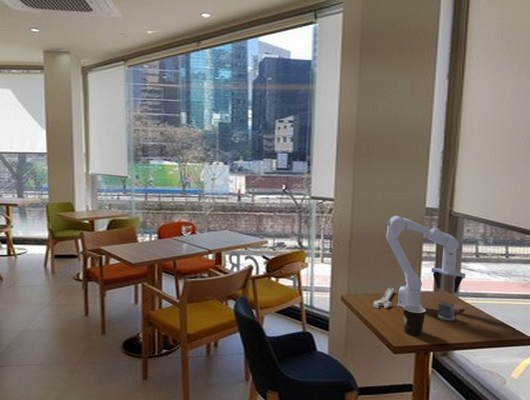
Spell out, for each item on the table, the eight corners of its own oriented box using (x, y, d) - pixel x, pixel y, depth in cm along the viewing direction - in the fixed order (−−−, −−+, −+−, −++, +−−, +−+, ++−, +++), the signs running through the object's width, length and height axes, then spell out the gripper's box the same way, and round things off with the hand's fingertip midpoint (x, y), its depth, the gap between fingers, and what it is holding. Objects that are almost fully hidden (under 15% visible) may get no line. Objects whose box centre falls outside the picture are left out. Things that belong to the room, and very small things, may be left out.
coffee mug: (424, 338, 163) (425, 314, 162) (401, 334, 166) (402, 310, 165) (423, 327, 174) (425, 304, 173) (402, 324, 177) (403, 301, 176)
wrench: (399, 289, 219) (389, 306, 192) (399, 292, 219) (389, 310, 192) (383, 286, 222) (372, 303, 195) (383, 289, 222) (372, 307, 195)
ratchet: (434, 318, 184) (435, 308, 184) (451, 306, 200) (452, 296, 200) (451, 323, 179) (452, 312, 179) (467, 310, 195) (468, 300, 195)
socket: (438, 315, 184) (439, 304, 183) (442, 312, 188) (443, 301, 187) (449, 318, 181) (450, 307, 180) (453, 315, 184) (454, 304, 184)
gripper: (430, 260, 194) (428, 288, 196) (463, 266, 185) (460, 295, 186) (435, 257, 200) (433, 285, 201) (467, 263, 190) (465, 292, 192)
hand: (446, 290), depth 194 cm, fingers open, 7 cm apart
